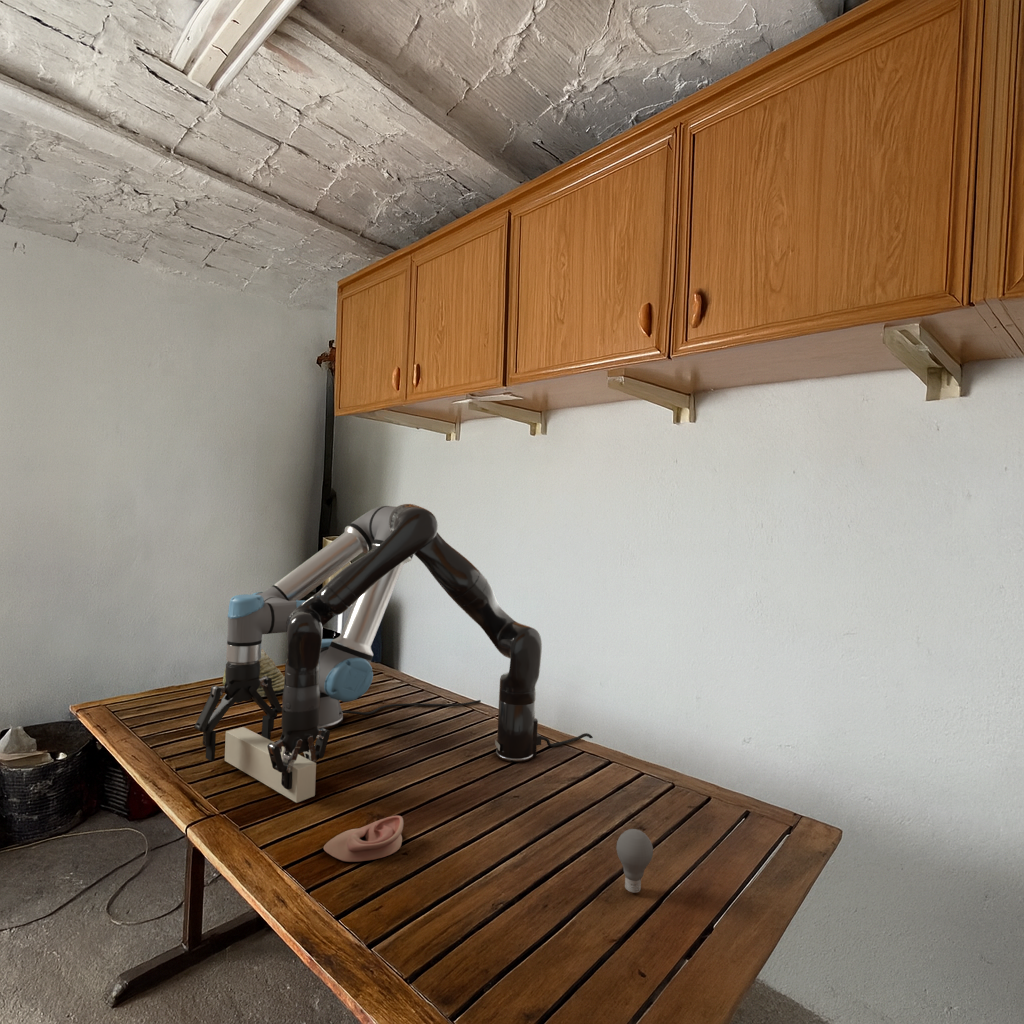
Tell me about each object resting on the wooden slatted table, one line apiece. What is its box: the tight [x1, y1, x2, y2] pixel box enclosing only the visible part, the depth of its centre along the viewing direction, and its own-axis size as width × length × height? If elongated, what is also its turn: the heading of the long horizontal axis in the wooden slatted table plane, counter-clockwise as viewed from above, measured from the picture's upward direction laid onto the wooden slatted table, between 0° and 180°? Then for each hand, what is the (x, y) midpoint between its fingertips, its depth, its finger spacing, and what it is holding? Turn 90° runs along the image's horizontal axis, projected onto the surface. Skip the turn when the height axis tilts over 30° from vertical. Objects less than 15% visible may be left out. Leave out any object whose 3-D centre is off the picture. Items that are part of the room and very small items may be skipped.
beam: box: [224, 726, 317, 804], centre depth 142 cm, size 30×4×7 cm, turn 51°
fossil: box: [222, 648, 285, 698], centre depth 198 cm, size 9×18×15 cm, turn 132°
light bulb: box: [615, 828, 654, 894], centre depth 106 cm, size 6×6×10 cm
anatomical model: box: [323, 815, 404, 863], centre depth 116 cm, size 13×4×12 cm
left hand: (238, 751), depth 149 cm, fingers open, 13 cm apart
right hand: (298, 783), depth 134 cm, fingers closed on beam, 4 cm apart
